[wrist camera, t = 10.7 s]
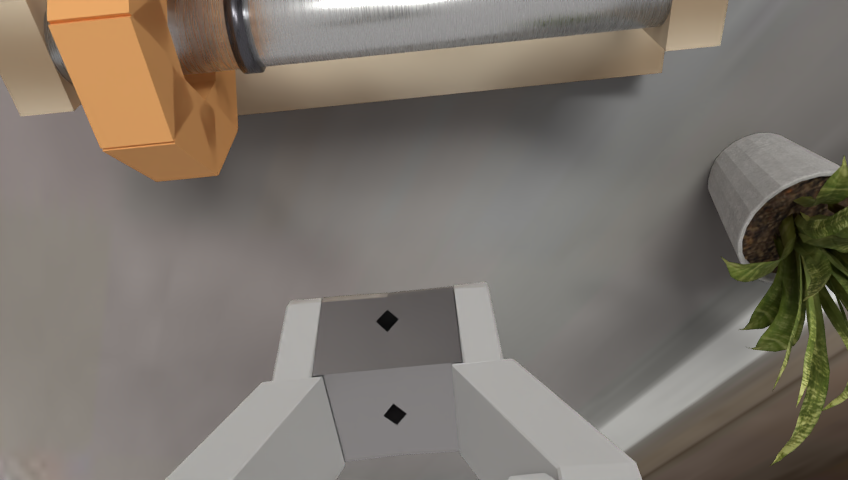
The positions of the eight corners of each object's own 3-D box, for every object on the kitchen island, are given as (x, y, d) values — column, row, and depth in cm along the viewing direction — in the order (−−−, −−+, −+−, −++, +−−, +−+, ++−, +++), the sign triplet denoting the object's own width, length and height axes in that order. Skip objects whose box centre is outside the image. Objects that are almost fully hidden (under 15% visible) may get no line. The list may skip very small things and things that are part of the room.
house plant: (763, 303, 44) (925, 527, 31) (588, 252, 41) (686, 478, 27) (921, 124, 36) (1227, 318, 23) (722, 43, 33) (947, 215, 20)
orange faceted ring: (126, -130, 25) (-1, -90, 17) (186, -137, 25) (89, -99, 17) (200, 107, 31) (133, 224, 23) (249, 102, 31) (200, 217, 23)
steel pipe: (16, -10, 24) (-32, 17, 21) (701, -81, 24) (743, -63, 21) (54, 76, 26) (14, 111, 23) (687, 12, 26) (723, 39, 23)
